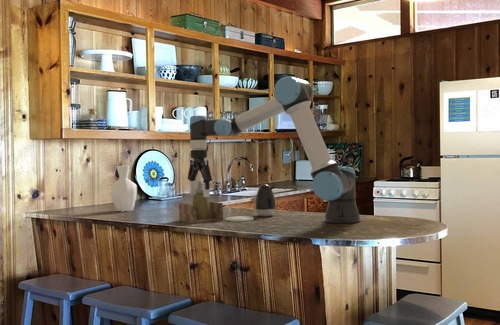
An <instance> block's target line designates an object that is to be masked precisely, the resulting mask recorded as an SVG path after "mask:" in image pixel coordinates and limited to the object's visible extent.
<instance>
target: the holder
mask: <svg viewBox="0 0 500 325" xmlns="http://www.w3.org/2000/svg"><path fill="white" fill-rule="evenodd" d="M208 203H209V210H210V213H209V217H208V219H204V220H196V205H193V204H189V203H184V202H182V203H181V202H180V203H178V211H179V214H178V215H179V221H181V222H184V223H189V224H193V225H194V224H202V223H203V224H204V223H213V222H220V221H221V222H222V221H224V209H223V208H224V207H223V205H224V204H223V202H218V201H210V200H208Z"/></svg>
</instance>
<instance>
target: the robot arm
mask: <svg viewBox="0 0 500 325" xmlns="http://www.w3.org/2000/svg"><path fill="white" fill-rule="evenodd" d="M313 94H314V92H313V88H312V85H311V83H309V81H307V80H305V79H304V78H303V79H302V78H298V77H296V76H290V75H289V76H288V75H287V76H284V77H281V78H279V80H278V81H276V84H275V85H274V88H273V96H274V97H273V98H271V99H269V100H267V101H265V102H263V103H261V104H259V105H257V106H255V107H253V108H251V109H249V110H247V111H245V112H243V113H241V114H239V115H236V116H234V117H232V118H231V119H227V118H217V119H215V118H214V119H207V116H206V115H191V116H190V118H189V135H190V137H189V138H190V140H189V143H190V144H189V145H190V147H189V148H190V149H191V150H190V158H191V159H190V162H189V169H188V173H187V180H189V188H190V189H189V192H190V194H189V195H190V196H193V195H194V194H196V193H195V189H197V179H196V177H197V175H198V173H199V172H200V175H201V177H202V179H203V181H202V187H203V196H204V197H208V198H210V197H211V196H210V194H211V193H210V182H212V181H213V178H212V174H211V170H210V169H211V168H210V166H209V160H208V159H207V158H208V151H207V148H208V141H207V140H208V138H207V137H238V136H240V135H241V134H242V132H244V131H246V130H249V129H250V128H253V127H255V126H256V125H259V124H261V123H263V122H265V121H267V120H269V119H271V118H275V117H276V116H278V115H280V114H282V113H285V115H288V116H290V118H291V120H292V123H293V125H294V128H295V130H296V133H297V134H298V138H299V140H300V141H301V145H302V147H303V149H304V151H305V154H306V157H307V158H308V161H309V164H310V166H311V171H310V176H311V178H312V184H311V185H312V186H311V188H312V190H313V192H314V194H315V196H316V197H318V198H319V199H320V200H323V201H328V203H327V207H326V211H325V214H324V222H326V223H331V224H350V223H351V224H354V223H358V222H361V214H360V213H359V212H360V211H359V209H358V205H357V203H356V202H357V200H356V199H357V198H356V196H357V194H356V171H355V168H353V167H351V166H339V165H338V162H337V161H335V160H333V159H332V157H331V154H330V152H329V150H328V148H327V145H326V143H325V141H324V138H323V136H322V134H321V132H320V129H319V127H318V124H317V122H316V120H315V117H314V115H313V112H312V110H311V108H310V107H311V105H312V104H311V103H312V101H311V99H312V97H313Z"/></svg>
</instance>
